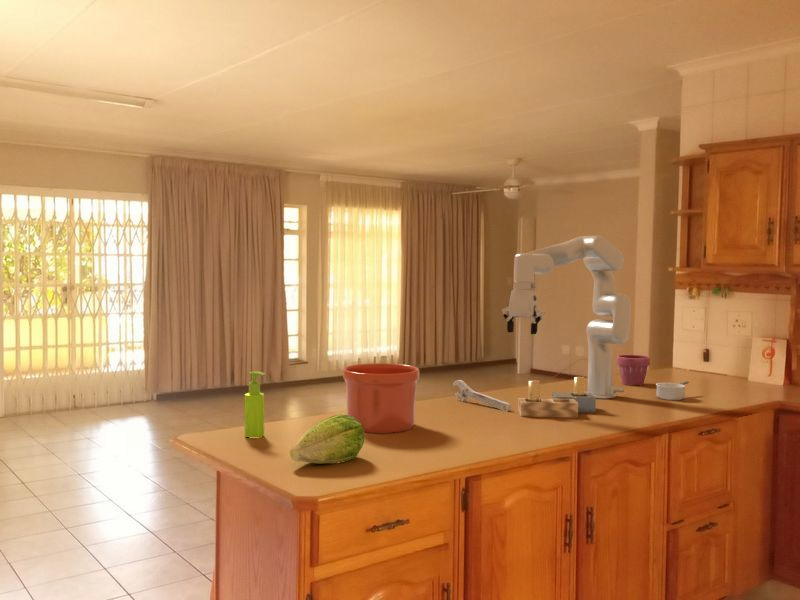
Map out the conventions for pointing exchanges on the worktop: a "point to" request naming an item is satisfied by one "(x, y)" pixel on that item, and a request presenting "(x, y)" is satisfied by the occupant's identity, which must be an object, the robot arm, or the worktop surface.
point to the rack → (548, 408)
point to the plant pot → (633, 368)
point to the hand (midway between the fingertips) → (521, 333)
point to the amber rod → (533, 390)
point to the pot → (381, 396)
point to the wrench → (479, 396)
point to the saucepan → (671, 391)
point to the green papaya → (330, 441)
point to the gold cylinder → (579, 386)
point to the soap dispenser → (254, 408)
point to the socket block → (578, 400)
